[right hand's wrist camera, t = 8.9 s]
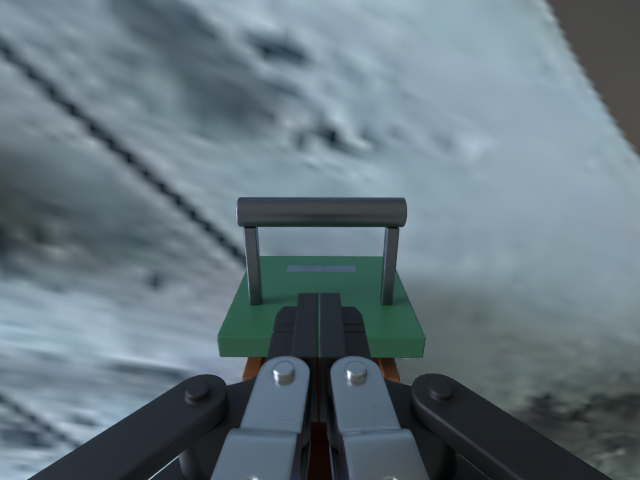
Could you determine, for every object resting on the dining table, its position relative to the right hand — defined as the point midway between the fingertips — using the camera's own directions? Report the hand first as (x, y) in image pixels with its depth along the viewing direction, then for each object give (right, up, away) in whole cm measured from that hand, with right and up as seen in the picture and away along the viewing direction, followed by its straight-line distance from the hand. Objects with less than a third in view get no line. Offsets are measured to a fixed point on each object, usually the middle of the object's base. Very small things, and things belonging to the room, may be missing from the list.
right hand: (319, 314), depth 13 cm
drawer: (0, -3, +14) cm, 14 cm away
